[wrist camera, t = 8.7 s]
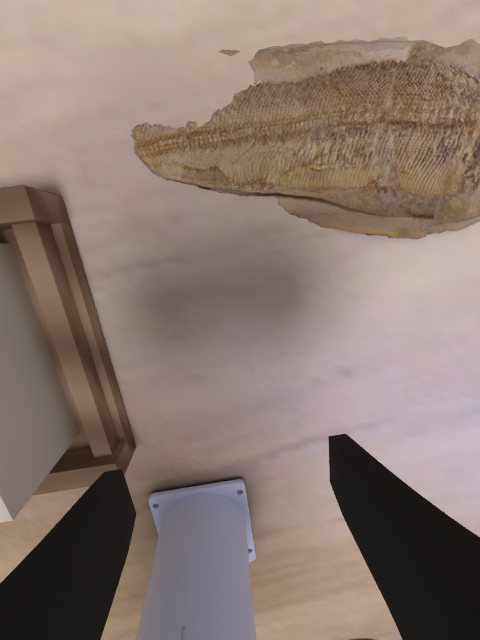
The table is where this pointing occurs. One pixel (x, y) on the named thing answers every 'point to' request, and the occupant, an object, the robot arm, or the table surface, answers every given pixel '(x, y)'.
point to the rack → (68, 335)
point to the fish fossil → (343, 136)
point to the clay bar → (26, 396)
